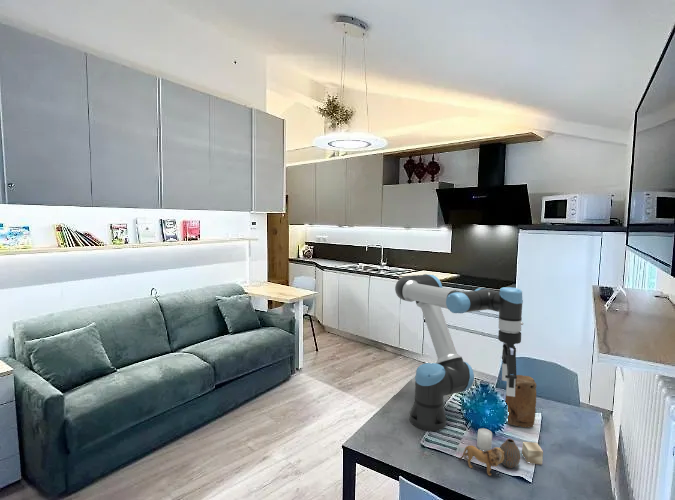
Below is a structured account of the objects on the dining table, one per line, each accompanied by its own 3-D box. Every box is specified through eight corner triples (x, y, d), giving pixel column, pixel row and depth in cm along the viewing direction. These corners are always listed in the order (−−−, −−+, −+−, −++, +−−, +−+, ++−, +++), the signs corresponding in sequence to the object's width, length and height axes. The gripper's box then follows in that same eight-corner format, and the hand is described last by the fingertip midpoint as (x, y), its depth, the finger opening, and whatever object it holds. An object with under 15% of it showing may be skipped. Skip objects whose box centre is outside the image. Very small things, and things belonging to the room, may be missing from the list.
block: (528, 419, 162) (532, 375, 160) (535, 429, 154) (539, 382, 152) (502, 417, 163) (505, 373, 161) (508, 427, 156) (511, 380, 153)
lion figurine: (503, 470, 129) (505, 446, 128) (502, 480, 124) (504, 454, 124) (459, 456, 136) (460, 433, 135) (456, 465, 131) (457, 440, 130)
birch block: (527, 463, 133) (528, 450, 133) (521, 454, 138) (522, 441, 138) (542, 464, 133) (543, 451, 132) (535, 455, 138) (537, 442, 137)
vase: (520, 472, 128) (522, 448, 127) (498, 467, 130) (500, 444, 130) (518, 460, 135) (520, 437, 134) (497, 455, 137) (499, 433, 136)
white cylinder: (476, 449, 140) (477, 434, 140) (476, 441, 145) (477, 427, 144) (491, 452, 139) (492, 437, 138) (490, 444, 143) (492, 430, 143)
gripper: (527, 341, 124) (525, 404, 125) (516, 323, 147) (514, 376, 149) (502, 339, 126) (500, 401, 127) (495, 321, 150) (493, 374, 151)
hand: (508, 388), depth 138 cm, fingers open, 13 cm apart
